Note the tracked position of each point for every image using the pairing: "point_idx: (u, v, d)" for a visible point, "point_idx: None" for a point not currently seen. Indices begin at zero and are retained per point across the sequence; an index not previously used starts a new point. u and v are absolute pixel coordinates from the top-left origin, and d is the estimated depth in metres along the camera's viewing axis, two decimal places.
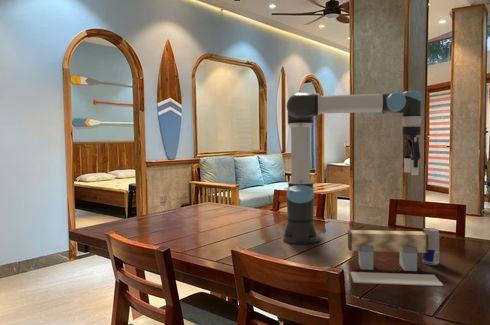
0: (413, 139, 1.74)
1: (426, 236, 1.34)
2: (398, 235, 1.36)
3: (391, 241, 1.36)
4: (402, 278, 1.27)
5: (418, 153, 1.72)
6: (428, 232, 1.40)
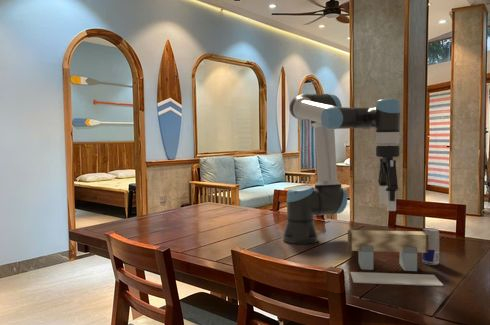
0: (389, 163, 1.31)
1: (426, 236, 1.34)
2: (398, 235, 1.36)
3: (391, 241, 1.36)
4: (402, 278, 1.27)
5: (395, 182, 1.28)
6: (428, 232, 1.40)
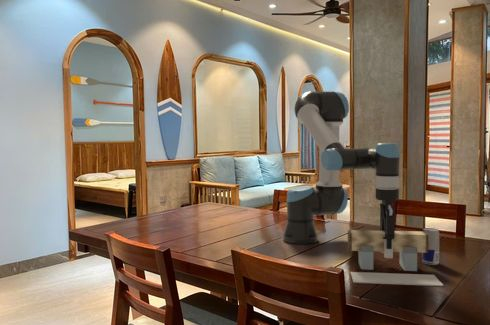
0: (388, 213, 1.32)
1: (426, 236, 1.34)
2: (398, 235, 1.36)
3: None
4: (402, 278, 1.27)
5: (392, 232, 1.32)
6: (428, 232, 1.40)
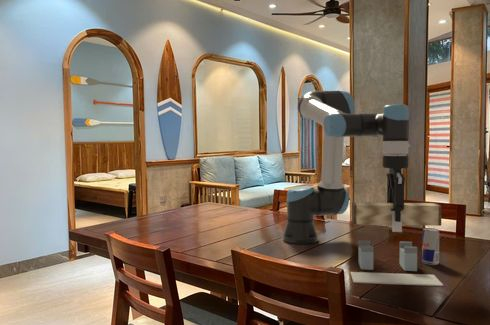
0: (397, 181, 1.19)
1: (439, 207, 1.21)
2: (408, 206, 1.23)
3: None
4: (402, 278, 1.27)
5: (401, 203, 1.19)
6: (428, 232, 1.40)
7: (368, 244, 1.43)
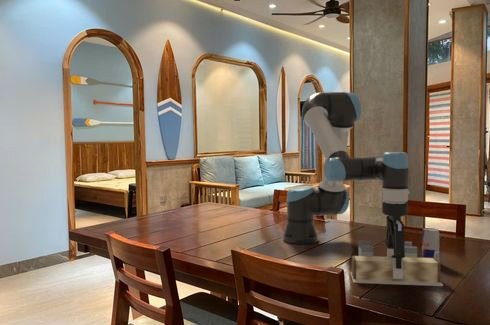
0: (396, 228, 1.20)
1: (438, 264, 1.22)
2: (407, 263, 1.24)
3: None
4: None
5: (402, 250, 1.19)
6: (428, 232, 1.40)
7: (368, 244, 1.43)
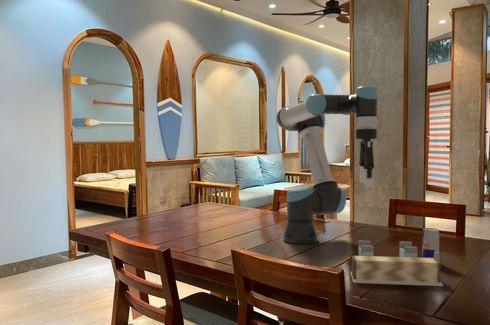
0: (366, 144, 1.45)
1: (438, 264, 1.22)
2: (407, 263, 1.24)
3: (399, 269, 1.24)
4: None
5: (371, 161, 1.42)
6: (428, 232, 1.40)
7: (368, 244, 1.43)
